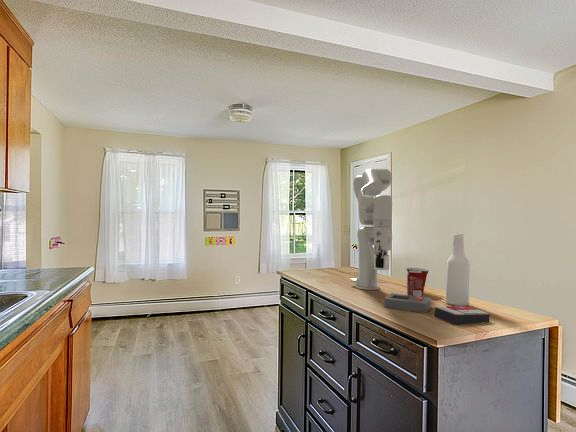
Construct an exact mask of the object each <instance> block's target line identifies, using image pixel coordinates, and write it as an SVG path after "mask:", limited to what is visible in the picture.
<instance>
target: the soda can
mask: <svg viewBox="0 0 576 432" xmlns="http://www.w3.org/2000/svg"><path fill="white" fill-rule="evenodd" d="M406 275H407V277H406V279H407V280H406V295H410V296H418V297H423V294H424V292H423V275H422V273H421V271H416V270H410V271H409V273H408V272H407V274H406Z"/></svg>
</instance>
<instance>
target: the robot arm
mask: <svg viewBox="0 0 576 432" xmlns="http://www.w3.org/2000/svg"><path fill="white" fill-rule="evenodd" d="M392 180H393V175H392V172H391V171H390V169H387V168H368V169H366V170H364V171H363V173H362V175H356V177H354V179H353V183H352V185H353V191H354V195H355V198H356V199H357V202H358V203H357V204H358V206H357V207H358V218H359V223H360V225H362V226H361V227H360V228H358V230H357V233H356V237H357V242H358V243H357V244H358V277H357V278H353V277H352V278H350V282H351V283H355V284H354V287H355V288H356V289H359V290H365V291H367V290H368V291H375V290H376V291H377V290H380V289H381V286H380V285H379V284H378V270H375V269H374V255H376V268H384V258H383V252H384V255H389V254H388V253H389V252H390V251H391V250H392V243H393V230H392V224H393V223H392V221H393V217H392V216H393V198H392V196H391V195H388V194H382V192H384V191H385V190H387V189H388V188H389V187H390V186H391V184H392ZM380 250H382V251H380Z"/></svg>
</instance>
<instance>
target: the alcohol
mask: <svg viewBox="0 0 576 432" xmlns="http://www.w3.org/2000/svg"><path fill="white" fill-rule="evenodd" d="M452 238H453V240H452V241H453V242H452V252H451V253H450V254H451V255H450V256H449V257H448V259H447V261H446V276H445V277H446V279H445V281H446V283H445V285H446V286H445V292H446V293H445V302H446V304H448V306H468V305H469V304H470V261H469V260H468V257H466V255H465V248H464V247H465V245H464V234H463V233H453V237H452Z"/></svg>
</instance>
